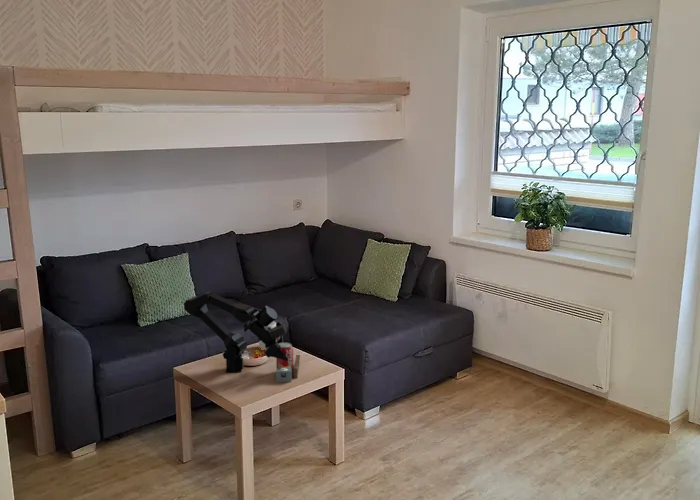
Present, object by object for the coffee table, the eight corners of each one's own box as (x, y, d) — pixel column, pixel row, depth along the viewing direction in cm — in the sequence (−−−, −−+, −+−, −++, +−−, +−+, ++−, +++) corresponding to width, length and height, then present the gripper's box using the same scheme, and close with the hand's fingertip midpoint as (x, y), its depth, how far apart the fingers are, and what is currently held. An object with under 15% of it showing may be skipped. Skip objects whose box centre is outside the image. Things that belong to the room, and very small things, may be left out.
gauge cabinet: (276, 381, 266) (276, 370, 265) (277, 378, 269) (276, 367, 268) (291, 381, 266) (290, 370, 265) (291, 378, 269) (291, 367, 268)
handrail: (293, 378, 270) (293, 368, 269) (296, 364, 284) (296, 354, 283) (297, 378, 270) (297, 368, 269) (299, 364, 284) (299, 354, 283)
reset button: (277, 377, 267) (277, 370, 266) (278, 373, 271) (278, 366, 270) (290, 377, 267) (289, 370, 266) (290, 373, 271) (290, 366, 270)
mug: (263, 354, 295) (262, 329, 292) (256, 346, 305) (256, 321, 303) (280, 352, 298) (280, 327, 295) (273, 343, 308) (273, 319, 306)
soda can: (294, 368, 277) (294, 342, 275) (291, 375, 271) (291, 348, 268) (278, 367, 278) (278, 341, 275) (274, 374, 271) (274, 347, 269)
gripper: (272, 325, 260) (300, 352, 263) (277, 311, 278) (303, 336, 281) (253, 344, 262) (281, 370, 264) (258, 328, 280) (284, 353, 282)
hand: (288, 356), depth 273 cm, fingers closed on soda can, 7 cm apart
